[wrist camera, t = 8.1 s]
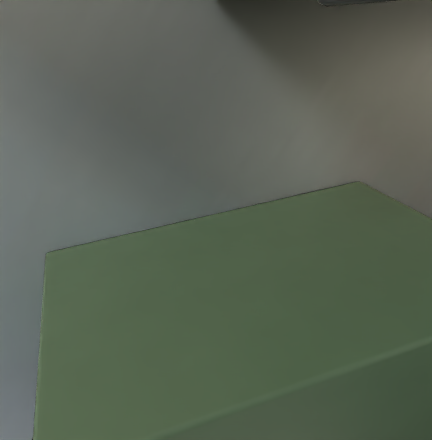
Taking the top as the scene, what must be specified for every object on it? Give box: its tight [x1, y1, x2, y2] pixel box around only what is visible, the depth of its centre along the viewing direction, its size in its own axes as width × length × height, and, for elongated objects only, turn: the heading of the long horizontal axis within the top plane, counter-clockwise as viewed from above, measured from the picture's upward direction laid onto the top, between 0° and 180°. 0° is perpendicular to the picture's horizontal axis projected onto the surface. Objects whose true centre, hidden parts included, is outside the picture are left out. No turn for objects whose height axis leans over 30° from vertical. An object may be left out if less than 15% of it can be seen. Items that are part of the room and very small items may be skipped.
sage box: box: [33, 182, 432, 440], centre depth 7 cm, size 6×6×4 cm
